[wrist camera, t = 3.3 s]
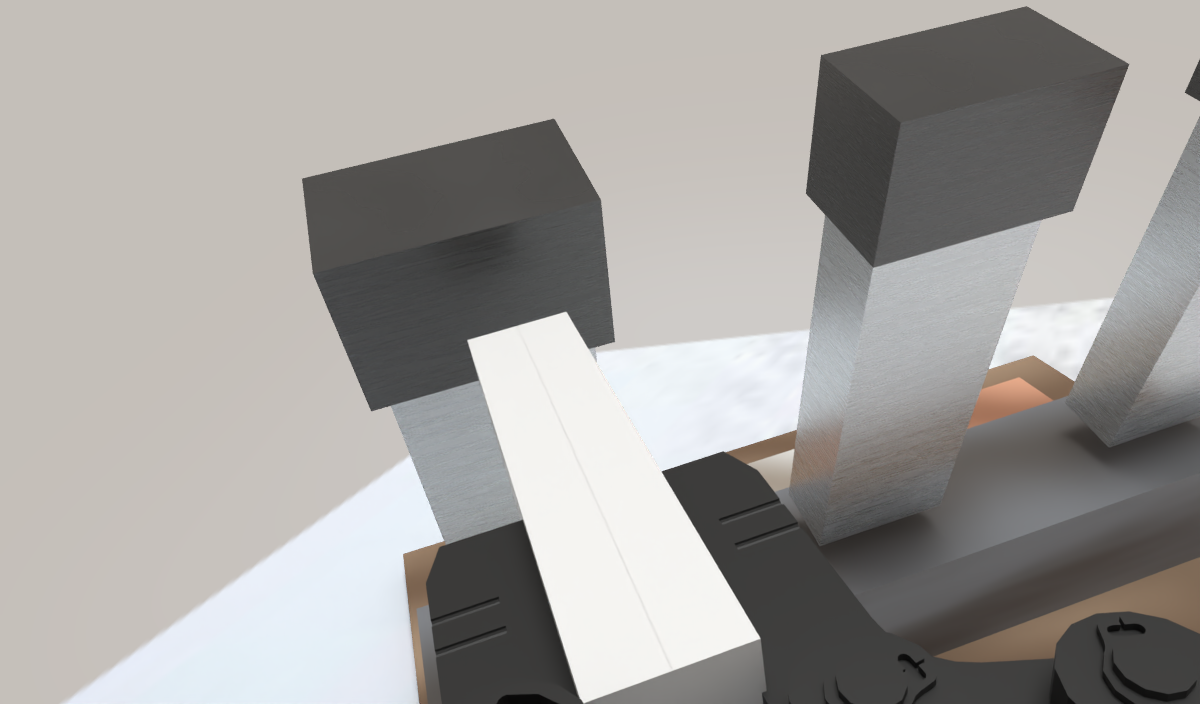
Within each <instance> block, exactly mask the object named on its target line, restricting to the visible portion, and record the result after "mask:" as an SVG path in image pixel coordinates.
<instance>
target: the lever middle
mask: <svg viewBox="0 0 1200 704" xmlns="http://www.w3.org/2000/svg"><path fill="white" fill-rule="evenodd" d="M1128 66H1129V64H1128V63H1126V62H1124V61H1123V60H1121V59H1119V58H1117V57H1116V56H1114V55H1112V54H1110V53H1108V52H1107V51H1105V50H1103V49H1101V48H1100V47H1098V46H1096V45H1094V44H1093V43H1091V42H1089V41H1087V40H1085V39H1084V38H1082V37H1080V36H1078V35H1077V34H1075V33H1073V32H1071V31H1069V30H1068V29H1066V28H1064V27H1062V26H1060V25H1059V24H1057V23H1055V22H1054V21H1052V20H1050V19H1048V18H1046V17H1045V16H1043V15H1041V14H1039V13H1038V12H1036V11H1034V10H1032V9H1031V8H1029V7H1022V8H1018V9H1014V10H1010V11H1006V12H1001V13H997V14H993V15H989V16H984V17H980V18H976V19H972V20H967V21H964V22H959V23H955V24H951V25H946V26H942V27H938V28H934V29H930V30H925V31H921V32H917V33H913V34H909V35H905V36H900V37H896V38H892V39H888V40H883V41H880V42H875V43H871V44H866V45H863V46H859V47H854V48H850V49H845V50H841V51H837V52H833V53H829V54H824V55H821V61H820V70H819V80H818V88H817V97H816V106H815V115H814V116H815V117H814V125H813V135H812V143H811V152H810V162H809V171H808V180H807V189H806V194H807V195H808V196H809V197H810V198H811V200H812V201H813V202H814V203H815V204H816V205H817V206H818V207H819V208H820V210H821V211H822V212H823V213H824V214H825V221H824V228H823V236H822V243H821V251H820V259H819V266H818V274H817V281H816V289H815V297H814V305H813V312H812V320H811V327H810V335H809V342H808V350H807V358H806V365H805V373H804V380H803V388H802V396H801V403H800V411H799V419H798V426H797V434H796V441H795V449H794V457H793V464H792V472H791V480H790V487H789V495H790V497H791V499H792V500H793V502H794V504H795V505H796V507H797V509H798V510H799V512H800V514H801V515H802V517H803V519H804V520H805V522H806V524H807V526H808V527H809V529H810V531H811V532H812V534H813V536H814V537H815V539H816V541H817V542H818V544H819V546H822V545H825V544H828V543H831V542H834V541H837V540H840V539H843V538H846V537H849V536H852V535H854V534H857V533H860V532H863V531H866V530H869V529H872V528H875V527H878V526H881V525H884V524H887V523H890V522H893V521H895V520H898V519H901V518H904V517H907V516H910V515H913V514H916V513H919V512H922V511H925V510H928V509H931V508H934V507H937V506H939V505H940V503H941V501H942V498H943V495H944V492H945V489H946V487H947V484H948V481H949V478H950V475H951V473H952V470H953V467H954V464H955V461H956V459H957V456H958V453H959V450H960V447H961V445H962V442H963V439H964V436H965V433H966V430H967V428H968V425H969V422H970V419H971V416H972V414H973V411H974V408H975V405H976V402H977V400H978V397H979V394H980V391H981V388H982V386H983V383H984V380H985V377H986V374H987V372H988V369H989V366H990V363H991V360H992V358H993V355H994V352H995V349H996V346H997V344H998V341H999V338H1000V335H1001V332H1002V330H1003V327H1004V324H1005V321H1006V318H1007V315H1008V313H1009V310H1010V307H1011V304H1012V301H1013V299H1014V296H1015V293H1016V290H1017V287H1018V284H1019V282H1020V279H1021V276H1022V273H1023V271H1024V268H1025V265H1026V262H1027V259H1028V257H1029V254H1030V251H1031V248H1032V245H1033V243H1034V240H1035V237H1036V234H1037V231H1038V228H1039V226H1040V223H1041V220H1043V219H1046V218H1049V217H1053V216H1057V215H1060V214H1064V213H1067V212H1071V211H1073V209H1074V206H1075V203H1076V201H1077V199H1078V196H1079V193H1080V190H1081V188H1082V186H1083V183H1084V180H1085V178H1086V175H1087V173H1088V170H1089V167H1090V165H1091V162H1092V160H1093V157H1094V154H1095V152H1096V149H1097V147H1098V144H1099V141H1100V139H1101V136H1102V134H1103V131H1104V128H1105V126H1106V123H1107V121H1108V118H1109V116H1110V113H1111V110H1112V108H1113V105H1114V103H1115V100H1116V97H1117V95H1118V92H1119V90H1120V87H1121V84H1122V82H1123V79H1124V77H1125V74H1126V71H1127V69H1128Z"/></svg>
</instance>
